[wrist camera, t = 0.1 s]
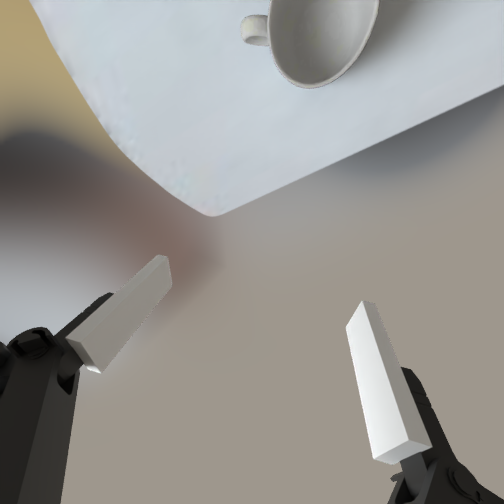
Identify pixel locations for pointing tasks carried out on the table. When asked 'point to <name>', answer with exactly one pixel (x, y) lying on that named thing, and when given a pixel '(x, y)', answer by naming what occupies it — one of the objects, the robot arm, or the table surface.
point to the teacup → (313, 37)
